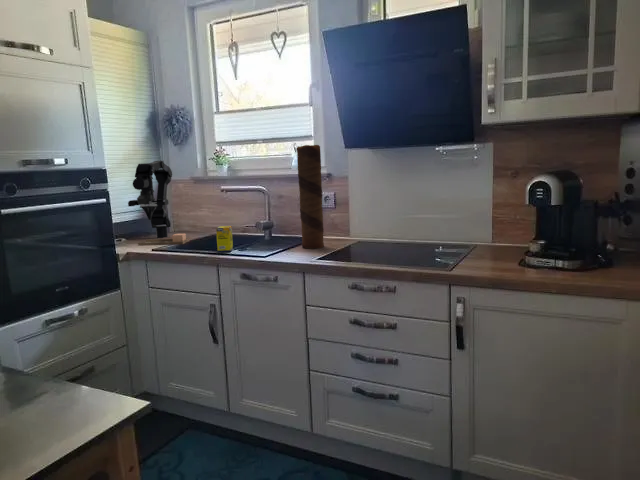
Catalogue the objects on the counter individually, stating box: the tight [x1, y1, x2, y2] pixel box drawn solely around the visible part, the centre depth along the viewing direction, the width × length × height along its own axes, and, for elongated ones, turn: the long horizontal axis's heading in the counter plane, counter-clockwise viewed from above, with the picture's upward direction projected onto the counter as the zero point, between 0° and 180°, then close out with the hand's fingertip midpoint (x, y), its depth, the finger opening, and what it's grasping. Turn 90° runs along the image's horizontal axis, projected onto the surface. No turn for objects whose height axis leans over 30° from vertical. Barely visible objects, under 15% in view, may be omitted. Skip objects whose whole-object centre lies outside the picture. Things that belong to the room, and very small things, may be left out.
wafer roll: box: [296, 144, 325, 249], centre depth 229 cm, size 10×11×45 cm
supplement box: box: [215, 225, 234, 253], centre depth 230 cm, size 6×6×11 cm
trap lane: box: [137, 237, 191, 247], centre depth 256 cm, size 12×22×2 cm, turn 87°
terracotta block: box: [171, 233, 187, 242], centre depth 255 cm, size 5×5×4 cm
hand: (149, 219), depth 262 cm, fingers closed
